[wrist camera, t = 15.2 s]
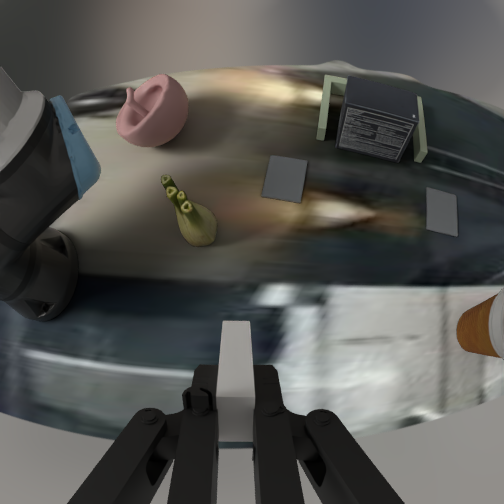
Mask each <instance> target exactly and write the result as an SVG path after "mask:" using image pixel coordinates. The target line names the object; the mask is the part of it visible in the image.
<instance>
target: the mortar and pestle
mask: <svg viewBox="0 0 504 504" xmlns="http://www.w3.org/2000/svg"><path fill="white" fill-rule="evenodd" d="M188 110H189V104H188V98H187V95H186V93H185V91H184V89H183V88H182V86H181V85H180V84H179V83H178V82H177V81H176V80H175V79H173V78H172V77H170V76H168V75H166V74H159V75H157V76H154V77H152V78H151V79H149V80H147V81H146V82H144V83H143V84H142V85H141V86H140V87H139V88H138V89H137V90H136V91H135V92H134V90H133V89H132V88H131V87H129V88H127V100H126V103H125V104H124V106H123V107H122V109H121V110H120V112H119V114H118V116H117V120H116V127H117V132H118V134H119V135H120V136H121V137H122V138H124V139H125V140H126V141H128V142H130V143H131V144H134V145H137V146H141V147H155V146H159V145H162V144H164V143H166V142H168V141H170V140H171V139H173V138H174V137H175V136H176V135H177V134H178V133H179V132H180V131H181V129H182V128H183V126H184V124H185V122H186V120H187V116H188Z"/></svg>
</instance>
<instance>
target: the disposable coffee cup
mask: <svg viewBox="0 0 504 504" xmlns="http://www.w3.org/2000/svg"><path fill="white" fill-rule="evenodd" d="M457 339H458V342H459V344H460V345H461V347H462V348H463V349H464V350H465V351H468V352H472V353H477V354H482V355H487V356H493V357H498V358H502V359H503V360H504V288H503V289H501V291H500V292H499V293H498V294H496V295H495V296H493V297H491V298H489V299H488V300H486V301H484V302H482V303H480V304H478V305H477V306H475V307H473V308H471V309H469V310H467V311H466V312H465V313H463V314H462V316H461V317H460V319H459V322H458V325H457Z"/></svg>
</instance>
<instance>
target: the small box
mask: <svg viewBox="0 0 504 504" xmlns="http://www.w3.org/2000/svg"><path fill="white" fill-rule="evenodd" d="M419 122H420V120H419V109H418V99H417V94H416V93H413V92H410V91H406V90H403V89H400V88H396V87H392V86H389V85H385V84H381V83H377V82H373V81H369V80H365V79H361V78H357V77H352V76H348V78H347V83H346V88H345V93H344V98H343V103H342V108H341V114H340V119H339V124H338V130H337V137H336V144H335V147H336V148H339V149H343V150H348V151H352V152H356V153H360V154H364V155H368V156H372V157H376V158H380V159H384V160H388V161H392V162H395V163H398V162H400V160H401V156H402V154H403V153H404V151H405V149H406V147H407V145H408V143H409V141H410V139H411V137H412V135H413V133H414V131H415V129H416V127H417V125H418V124H419Z"/></svg>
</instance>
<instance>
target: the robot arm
mask: <svg viewBox="0 0 504 504" xmlns="http://www.w3.org/2000/svg"><path fill="white" fill-rule="evenodd" d="M100 173H101V167H100V164H99V162H98V160H97V159H96V157H95V155H94V153H93V152H92V150H91V148H90V146H89V145H88V143H87V141H86V139H85V138H84V136H83V134H82V132H81V130H80V129H79V127H78V125H77V123H76V121H75V119H74V118H73V116H72V114H71V112H70V110H69V108H68V106H67V104H66V103H65V101H64V99H63V97H62V96H56V97H55V98H52V99H50V101H49V102H48V101H47V99H46V98H45V97H44V96H43V94H42V93H40V92H39V91H26V92H22V91H20V90H19V89H18V87H17V86H16V85H15V84H14V82H13V81H12V80H11V79H10V77H9V76H8V75H7V74H6V73H5V72H4V70H3V69H2V67H1V66H0V300H2V301H4V302H6V303H7V304H8V305H9V306H11V307H12V308H13V309H14V310H15V311H17V312H18V313H19V314H21V315H22V316H24V317H26V318H28V319H32V320H37V321H47V320H50V319H53V318H55V317H56V316H58V315H59V314H60V313H61V312H62V311H63V310H64V309H65V308H66V306H67V305H68V303H69V302H70V300H71V298H72V296H73V294H74V291H75V288H76V284H77V279H78V257H77V253H76V250H75V247H74V245H73V244H72V242H71V241H70V239H69V238H68V237H67V236H65V235H64V234H62V233H61V232H59V231H58V230H56V229H53V228H50V227H49V226H50V225H51V224H52V223H53V222H54V221H55V220H56V219H58V218H59V217H60V216H61V215H62V214H63V213H64V212H65V211H66V210H67V209H69V208H70V207H71V206H72V205H73V204H74V203H75V202H76V201H78V200H80V199H81V198H82V197H83V194H84V193H85V192H86V191H87V190H88V189H89V188H91V187H92V186H93V185H94V184H95V183H96V182H97V180H98V179H99V177H100ZM182 398H183V406H184V410H182V411H180V412H178V413H174V414H169V415H165V414H164V413H163V412H162V411H161V410H158V409H156V408H145V409H142V410H140V411H138V412H137V413H136V414H135V415H134V416H133V418H132V419H131V420H130V422H129V423H128V424H127V426H126V427H125V428H124V430H123V431H122V432H121V434H120V435H119V436H118V437H117V439H116V440H115V441H114V443H113V444H112V445H111V447H110V448H109V449H108V451H107V452H106V453H105V455H104V456H103V457H102V459H101V460H100V461H99V463H98V464H97V465H96V466H95V468H94V469H93V471H92V472H91V473H90V474H89V476H88V477H87V478H86V480H85V481H84V482H83V484H82V485H81V486H80V487H79V489H78V490H77V491H76V493H75V494H74V495H73V497H72V498H71V499H70V501H69V502H68V503H67V504H150V503H151V501H152V499H153V497H154V495H155V493H156V492H157V490H158V488H159V486H160V484H161V483H162V481H163V479H164V477H165V475H166V473H167V472H168V470H169V468H170V466H171V464H172V462H173V459H175V461H174V466H173V472H172V478H171V484H170V489H169V495H168V502H167V504H216V503H217V478H218V456H219V446H218V441H233V442H253V459H252V460H253V461H254V481H255V499H256V504H305V503H304V498H303V493H302V487H301V481H300V476H299V471H298V465H297V460H299V463H300V465H301V467H302V468H303V470H304V472H305V474H306V476H307V477H308V479H309V481H310V483H311V485H312V486H313V488H314V490H315V491H316V493H317V495H318V497H319V499H320V500H321V502H322V504H404V502H403V501H402V499H401V498H400V497H399V496H398V494H397V493H396V492H395V491H394V489H393V488H392V487H391V486H390V484H389V483H388V482H387V481H386V479H385V478H384V477H383V475H382V474H381V473H380V472H379V470H378V469H377V468H376V466H375V465H374V464H373V463H372V461H371V460H370V459H369V458H368V456H367V455H366V454H365V453H364V451H363V450H362V448H361V447H360V446H359V445H358V443H357V442H356V441H355V439H354V438H353V437H352V435H351V434H350V433H349V431H348V430H347V429H346V427H345V426H344V425H343V423H342V422H341V421H340V419H339V418H338V417H337V416H336V415H335V414H334V413H333V412H331V411H329V410H324V409H318V410H314V411H311V412H310V413H309V414H308V415H307V416H304V415H298V414H294V413H292V412H290V411H289V410H287V409H286V407H285V406H284V404H283V399H282V394H281V388H280V383H279V377H278V372H277V370H276V369H275V368H274V366H273V365H253V360H252V346H251V331H250V321H223V326H222V336H221V347H220V358H219V365H199V366H198V367H197V368H196V369H195V371H194V376H193V381H192V386H191V387H189V388H187V389H186V390H185V391H184V392H183V394H182ZM296 459H297V460H296Z"/></svg>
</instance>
